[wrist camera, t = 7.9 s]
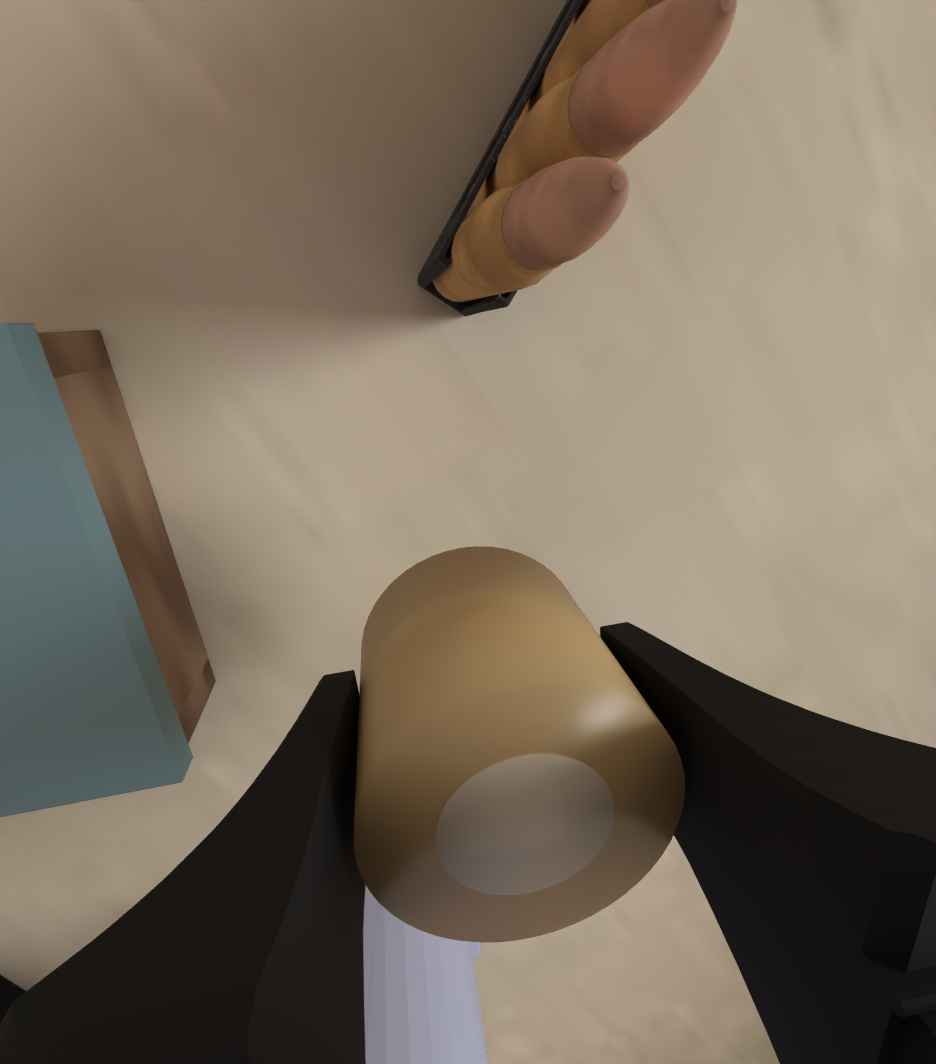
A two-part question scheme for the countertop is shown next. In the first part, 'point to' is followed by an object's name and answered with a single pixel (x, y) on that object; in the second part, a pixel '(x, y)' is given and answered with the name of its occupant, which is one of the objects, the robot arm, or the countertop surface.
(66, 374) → the walnut box
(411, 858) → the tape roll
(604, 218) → the ammunition clip
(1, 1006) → the beer stein
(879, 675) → the countertop surface
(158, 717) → the lid
